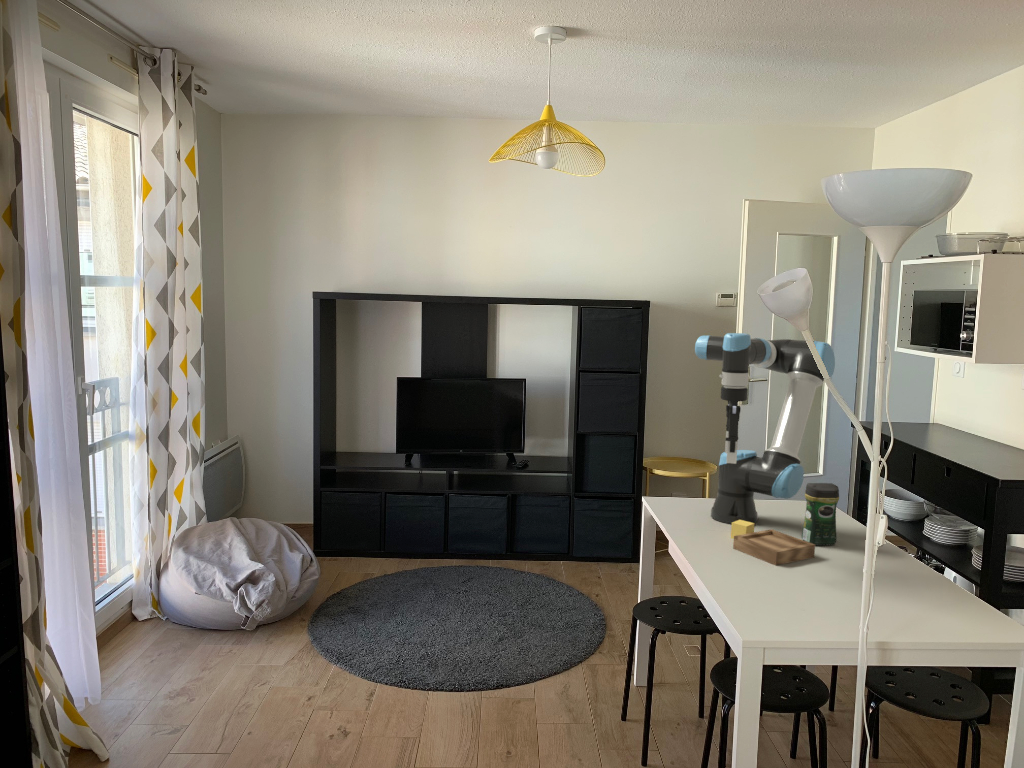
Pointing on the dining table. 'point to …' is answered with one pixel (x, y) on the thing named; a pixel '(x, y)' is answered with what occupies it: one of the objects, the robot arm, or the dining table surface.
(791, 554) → the walnut tray
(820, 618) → the dining table surface
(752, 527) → the mustard cube
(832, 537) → the coffee jar
